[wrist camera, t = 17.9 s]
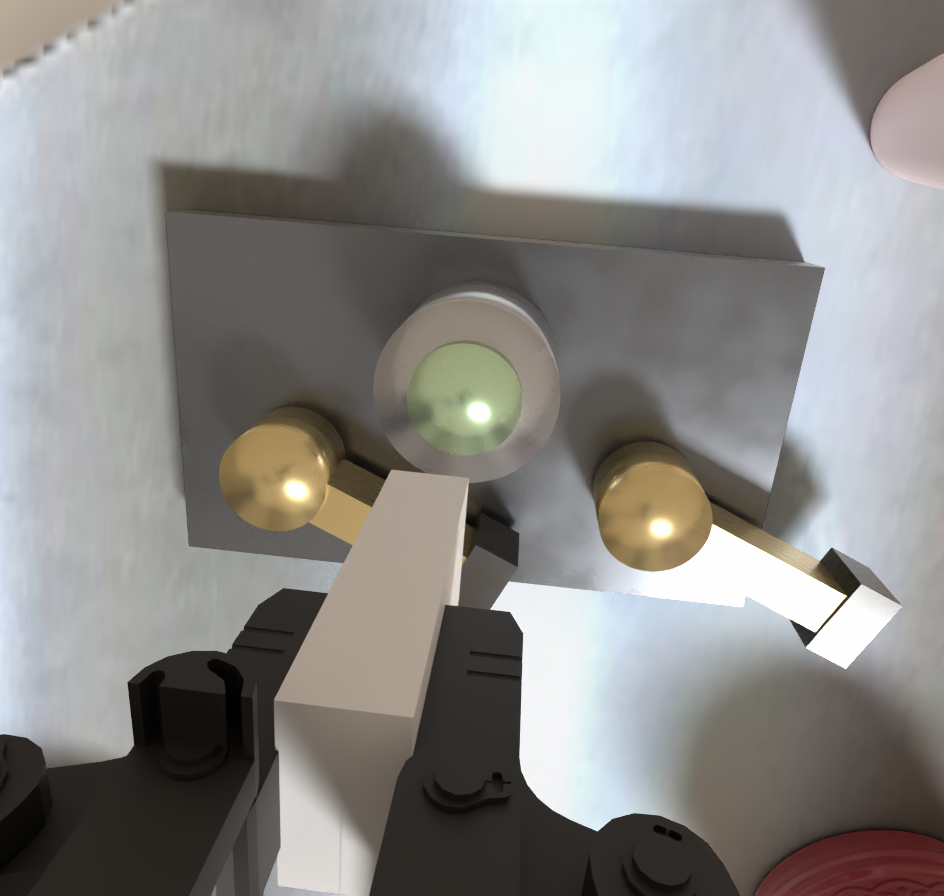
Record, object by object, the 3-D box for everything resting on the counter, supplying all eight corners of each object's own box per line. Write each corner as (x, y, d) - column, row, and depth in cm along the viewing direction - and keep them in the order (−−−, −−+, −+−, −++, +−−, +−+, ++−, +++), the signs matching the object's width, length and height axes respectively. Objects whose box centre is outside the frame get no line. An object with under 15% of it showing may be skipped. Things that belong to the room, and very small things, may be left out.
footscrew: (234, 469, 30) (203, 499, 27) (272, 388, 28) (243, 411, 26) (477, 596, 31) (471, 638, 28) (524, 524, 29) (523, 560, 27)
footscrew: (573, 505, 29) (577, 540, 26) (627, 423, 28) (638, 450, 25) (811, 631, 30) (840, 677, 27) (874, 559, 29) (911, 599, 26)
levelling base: (208, 525, 33) (119, 618, 26) (189, 209, 28) (74, 217, 21) (730, 582, 32) (786, 695, 25) (805, 262, 27) (900, 289, 20)
